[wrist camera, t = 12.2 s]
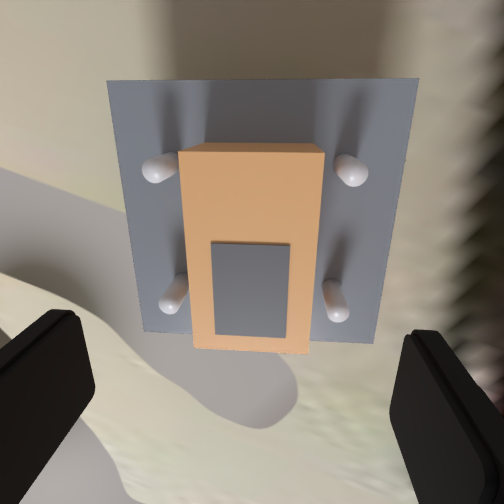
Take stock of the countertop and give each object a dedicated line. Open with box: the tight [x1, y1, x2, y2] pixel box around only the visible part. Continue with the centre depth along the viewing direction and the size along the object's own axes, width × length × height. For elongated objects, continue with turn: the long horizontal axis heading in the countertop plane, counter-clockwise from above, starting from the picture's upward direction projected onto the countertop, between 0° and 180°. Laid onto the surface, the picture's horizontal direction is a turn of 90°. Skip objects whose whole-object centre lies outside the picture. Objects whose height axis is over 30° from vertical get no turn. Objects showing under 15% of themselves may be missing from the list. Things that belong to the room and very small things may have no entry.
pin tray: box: [106, 78, 419, 344], centre depth 19 cm, size 16×16×4 cm
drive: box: [178, 142, 325, 354], centre depth 18 cm, size 10×6×5 cm, turn 0°
